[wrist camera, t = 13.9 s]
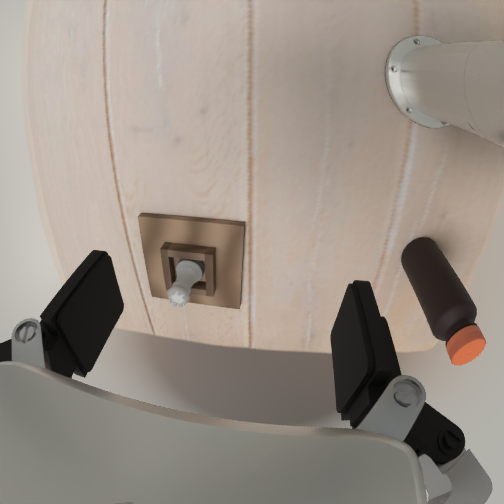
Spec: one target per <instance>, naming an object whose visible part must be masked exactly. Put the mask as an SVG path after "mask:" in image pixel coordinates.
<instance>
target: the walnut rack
mask: <svg viewBox="0 0 504 504" xmlns="http://www.w3.org/2000/svg"><path fill="white" fill-rule="evenodd" d="M138 220H139V227H140V234H141V240H142V247H143V253H144V258H145V264H146V269H147V275H148V280H149V285H150V290H151V295H152V297H158V298H165V299H169V298H168V290H169V289H170V288H171V287H172V285H173V283H174V282H176V279H177V273H176V266H177V263H178V261H179V259H180V258H183V259H191V260H200V261H201V262H202V263H203V265H204V268H205V272H204V274H203V276H202V278H201V279H200V280H199V281H197V282H196V283H194V284H193V286H192V287H191V293H190V294H189V295H190V300H189V302H191V303H197V304H204V305H212V306H219V307H227V308H235V309H240V305H241V287H242V268H243V250H244V232H245V222H239V221H228V220H218V219H207V218H196V217H185V216H173V215H160V214H147V213H141V214H140V215H139V216H138Z"/></svg>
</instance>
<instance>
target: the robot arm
mask: <svg viewBox="0 0 504 504" xmlns="http://www.w3.org/2000/svg"><path fill="white" fill-rule="evenodd" d="M414 41H415V43H414ZM391 67H392V68H393V71H391ZM385 73H386V83H387V88H388V90H389V93H390V96H391V98H392V99H393V101H394V103H395V105H396V106H397V107H398V108H399V110H400V111H401V112H402V113H403V114H404V115H405V116H406V117H407V118H409V119H410V120H412V121H413V122H415V123H417V124H420V125H422V126H425V127H428V128H442V127H446V126H448V125H454V126H456V127H459V128H461V129H464V130H466V131H468V132H471V133H473V134H475V135H478V136H480V137H482V138H484V139H486V140H488V141H490V142H493V143H495V144H497V145H499V146H501V147H503V148H504V41H471V42H458V43H447V44H444V43H442V42H441V41H439V40H437V39H434V38H431V37H428V36H412V37H409V38H406V39H404V40H402V41H400V42H399V43H398V44H397V45H395V46H394V48H393V49H392V51H391V52H390V54H389V56H388V59H387V63H386V69H385ZM406 108H408V110H407V111H406ZM441 121H442V122H441ZM123 309H124V303H123V300H122V296H121V293H120V289H119V286H118V282H117V279H116V275H115V271H114V267H113V263H112V259H111V257H110V256H109V255H108V253H107V252H105V251H99V250H93V251H92V252H91V253H90V254H89V255H88V256H87V257H86V259H85V260H84V261H83V262H82V263H81V264H80V266H79V267H78V268H77V269H76V270H75V272H74V273H73V274H72V275H71V277H70V278H69V279H68V280H67V281H66V283H65V284H64V285H63V286H62V288H61V289H60V290H59V292H58V293H57V294H56V295H55V297H54V298H53V299H52V301H51V302H50V303H49V305H48V306H47V307H46V309H45V310H44V311H43V313H42V314H41V316H40V317H41V319H42V320H41V322H40V323H39V322H38V320H36V319H32V318H30V319H25V320H23V321H21V322H20V323H19V324H17V325H16V327H15V328H14V330H13V333H12V339H10V340H8V341H5V342H3V343H0V504H484V503H485V502H486V501H487V500H488V498H489V496H490V495H491V492H492V482H491V480H490V478H489V476H488V475H487V473H486V472H485V470H484V469H483V468H482V466H481V465H480V463H479V462H478V461H477V459H476V458H475V456H474V455H473V454H472V452H471V451H470V450H467V451H466V450H465V448H464V446H465V437H464V434H463V432H462V430H461V429H460V428H459V427H458V426H457V425H455V424H454V423H453V422H451V421H450V420H448V419H447V418H446V417H445V416H443V415H442V414H440V413H439V412H438V411H436V410H435V409H434V408H432V407H431V406H430V405H428V404H427V403H426V402H425V400H426V392H425V389H424V387H423V385H422V384H421V382H419V381H418V380H417V379H416V378H413V377H411V376H407V375H401V371H400V367H399V363H398V359H397V355H396V352H395V348H394V344H393V341H392V337H391V334H390V330H389V327H388V323H387V321H386V318H384V317H381V316H380V313H379V309H378V306H377V303H376V300H375V296H374V293H373V290H372V287H371V284H370V282H369V281H359V280H354V282H353V284H348V287H347V290H346V292H345V295H344V298H343V301H342V304H341V307H340V310H339V312H338V315H337V318H336V321H335V323H334V326H333V329H332V331H331V348H332V358H333V369H334V380H335V394H336V409H337V412H338V413H341V419H342V420H350V426H352V427H353V428H352V429H348V428H324V427H321V428H320V427H299V426H285V425H271V424H260V423H251V422H243V421H235V420H228V419H221V418H215V417H209V416H203V415H198V414H193V413H188V412H183V411H178V410H173V409H169V408H165V407H161V406H156V405H152V404H149V403H145V402H141V401H138V400H134V399H130V398H127V397H123V396H120V395H117V394H114V393H111V392H108V391H104V390H101V389H98V388H96V387H93V386H90V385H87V384H84V383H82V382H79V381H76V380H73V379H72V375H73V373H75V374H76V375H79V376H82V377H84V378H85V377H86V375H87V373H88V372H90V371H91V370H92V368H93V366H94V364H95V362H96V360H97V358H98V356H99V355H100V353H101V350H102V349H103V347H104V345H105V343H106V341H107V339H108V337H109V336H110V333H111V332H112V330H113V328H114V326H115V324H116V323H117V321H118V319H119V317H120V315H121V314H122V312H123ZM426 489H427V492H428V494H429V500H428V502H427V497H426Z"/></svg>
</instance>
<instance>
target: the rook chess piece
mask: <svg viewBox="0 0 504 504" xmlns="http://www.w3.org/2000/svg"><path fill="white" fill-rule="evenodd" d="M204 272H205V268H204V265H203V263H202V262H201V261H200V260H191V259H183V258H180V259H179V261H178V263H177V266H176V273H177V279H176V282H174V283H173V285H172V287H171V288H170V289H169V290H168V298H169V302H170V303H171V302H173V305H174V306H176V305H177V304H178V305H179V307H182V306H183V304H184V305H185V304H186V303H187V302H189V300H190V295H189V294H190V293H191V287H192V286H193V284H194V283H196V282H197V281H199V280H200V279H201V278H202V276H203V274H204Z"/></svg>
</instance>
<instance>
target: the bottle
mask: <svg viewBox="0 0 504 504" xmlns="http://www.w3.org/2000/svg"><path fill="white" fill-rule="evenodd" d="M402 265H403V268H404V270H405V272H406V274H407V276H408V278H409V281H410V283H411V285H412V287H413V289H414V291H415V293H416V296H417V298H418V300H419V302H420V305H421V307H422V309H423V311H424V314H425V316H426V319H427V321H428V323H429V326H430V328H431V331H432V333H433V335H434V336H435V337H436V338H437V339H439V340H442V341H446V348H447V352H448V354H449V357H450V360H451V362H452V364H454V365H463V364H466V363H468V362H470V361H472V360H473V359H475V358H476V357H477V356H478V355H479V354H480V353H481V352H482V351H483V349H484V347H485V344H486V340H485V338H484V336H483V334H482V332H481V330H480V329H479V327H478V326H477V324H476V323H474V321H475V318H476V315H477V309H476V306H475V304H474V302H473V301H472V299H471V297H470V296H469V294H468V292H467V291H466V289H465V287H464V286H463V284H462V282H461V281H460V279H459V278H458V276H457V274H456V273H455V271H454V270H453V268H452V267H451V265H450V264H449V262H448V261H447V259H446V258H445V256H444V255H443V253H442V252H441V251H440V249H439V248H438V246H437V245H436V244H435V242H434V241H432V240H431V239H428V238H420V239H417V240H415V241H413V242H411V243H410V244H409V245H408V246H407V247H406V249H405V250H404V252H403V255H402Z"/></svg>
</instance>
